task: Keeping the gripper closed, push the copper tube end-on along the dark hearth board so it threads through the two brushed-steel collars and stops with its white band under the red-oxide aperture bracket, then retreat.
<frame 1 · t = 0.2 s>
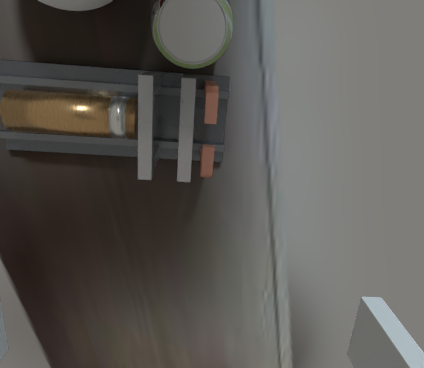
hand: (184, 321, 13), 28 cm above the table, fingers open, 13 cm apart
beverage can: (192, 26, 35), on the table
collar b: (188, 117, 38), resting on hearth board
copper tube: (81, 111, 37), point 1 cm above the table, touching hearth board
collar a: (155, 115, 38), resting on hearth board
hearth board: (117, 112, 38), on the table
aperture bridge: (206, 118, 38), resting on hearth board
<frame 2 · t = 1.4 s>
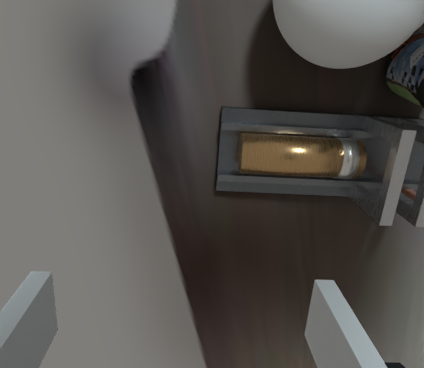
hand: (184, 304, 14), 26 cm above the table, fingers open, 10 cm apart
beverage can: (407, 73, 37), on the table
collar b: (388, 157, 40), resting on hearth board
copper tube: (293, 154, 38), point 1 cm above the table, tilted 11°, touching hearth board
decorative ball: (322, 1, 34), on the table
collar a: (357, 155, 39), resting on hearth board
hearth board: (322, 154, 39), on the table
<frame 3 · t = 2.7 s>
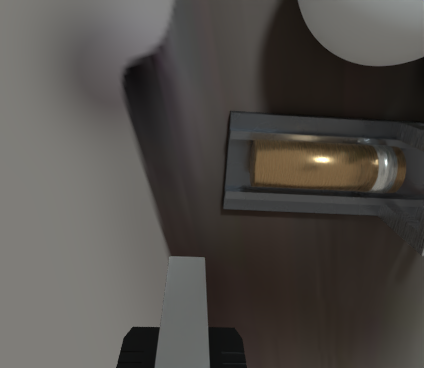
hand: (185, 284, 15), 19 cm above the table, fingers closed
copper tube: (315, 167, 32), point 1 cm above the table, tilted 22°, touching hearth board
collar a: (389, 168, 34), resting on hearth board
hearth board: (347, 166, 33), on the table
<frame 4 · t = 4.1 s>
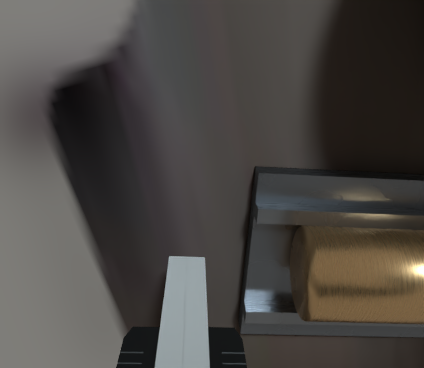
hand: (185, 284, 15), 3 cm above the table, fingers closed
copper tube: (408, 266, 18), point 1 cm above the table, tilted 22°, touching hearth board
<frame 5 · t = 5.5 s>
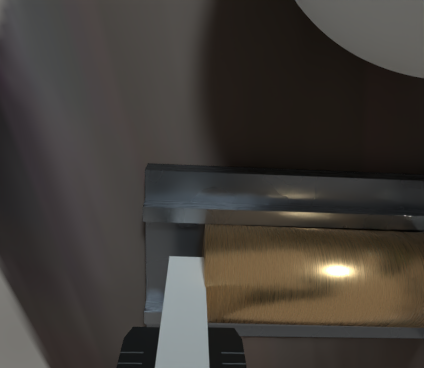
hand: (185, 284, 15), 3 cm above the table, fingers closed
copper tube: (325, 266, 17), point 1 cm above the table, tilted 21°, touching gripper
hearth board: (370, 255, 19), on the table
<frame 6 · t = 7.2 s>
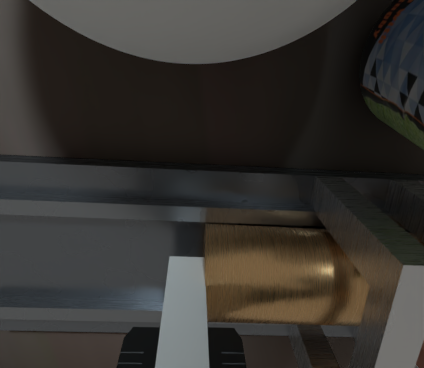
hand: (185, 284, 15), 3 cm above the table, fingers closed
beverage can: (413, 75, 16), on the table
collar b: (372, 254, 19), resting on hearth board
copper tube: (324, 266, 17), point 1 cm above the table, tilted 21°, touching gripper, hearth board
collar a: (306, 252, 18), resting on hearth board
hearth board: (230, 250, 18), on the table
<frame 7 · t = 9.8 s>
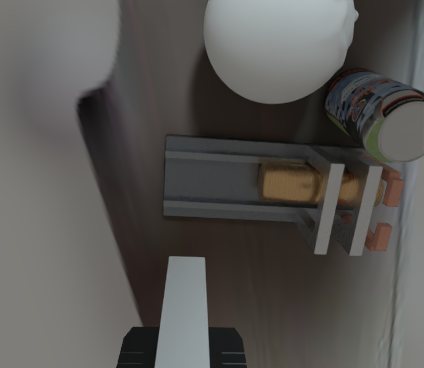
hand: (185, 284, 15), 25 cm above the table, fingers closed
beverage can: (347, 104, 38), on the table
collar b: (332, 184, 41), resting on hearth board
copper tube: (311, 186, 39), point 1 cm above the table, tilted 25°, touching hearth board
decorative ball: (262, 35, 35), on the table
collar a: (302, 182, 40), resting on hearth board
hearth board: (267, 180, 40), on the table
aperture bridge: (349, 185, 41), resting on hearth board
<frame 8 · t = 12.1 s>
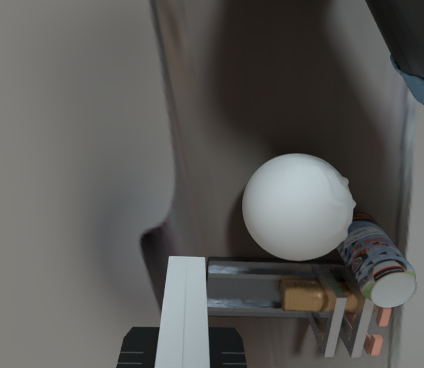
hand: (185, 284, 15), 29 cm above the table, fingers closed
beverage can: (349, 231, 48), on the table
collar b: (337, 288, 51), resting on hearth board
copper tube: (321, 293, 50), point 1 cm above the table, tilted 25°, touching hearth board
decorative ball: (282, 187, 46), on the table
collar a: (314, 287, 51), resting on hearth board
hearth board: (286, 286, 51), on the table
aperture bridge: (351, 288, 51), resting on hearth board
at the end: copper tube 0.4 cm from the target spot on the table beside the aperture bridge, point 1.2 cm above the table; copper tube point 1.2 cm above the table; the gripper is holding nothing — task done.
